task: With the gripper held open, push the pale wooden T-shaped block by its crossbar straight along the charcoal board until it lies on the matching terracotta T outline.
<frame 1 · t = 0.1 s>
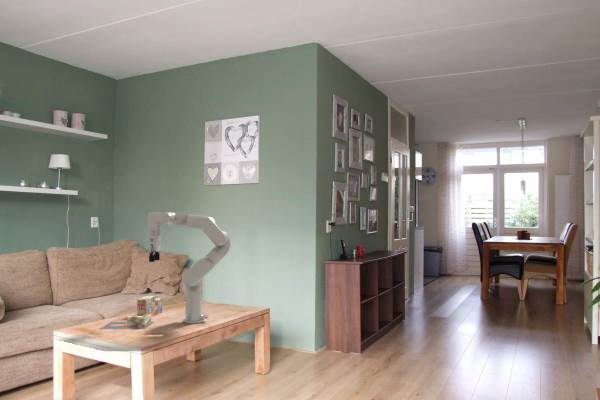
hand: (154, 261, 302), 37 cm above the table, tool pointing down, fingers open, 9 cm apart
T block: (138, 325, 288), point 1 cm above the table, touching board
board: (127, 326, 288), on the table
stack of blocks: (150, 315, 320), on the table
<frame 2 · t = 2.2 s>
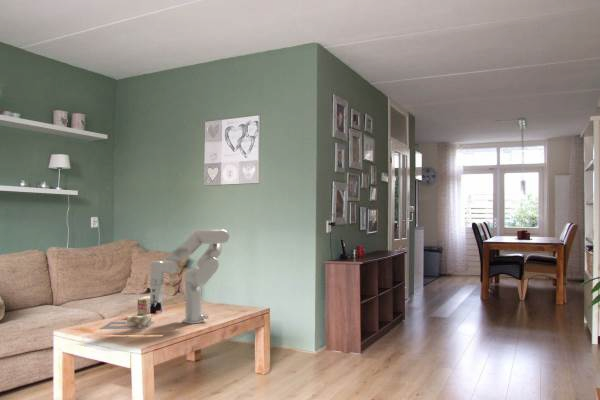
hand: (155, 312, 287), 9 cm above the table, tool pointing down, fingers open, 9 cm apart
nothing on the table moved.
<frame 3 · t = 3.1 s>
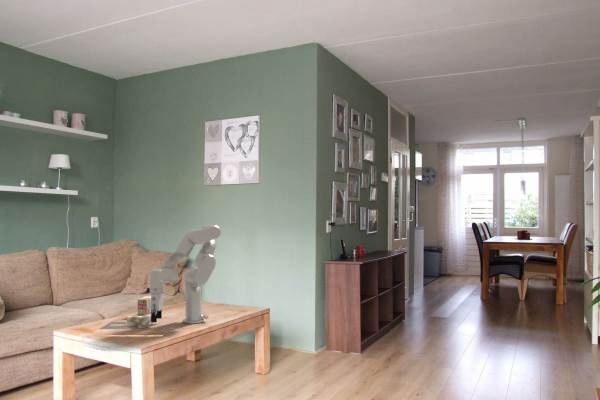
hand: (156, 320, 288), 4 cm above the table, tool pointing down, fingers open, 9 cm apart
nothing on the table moved.
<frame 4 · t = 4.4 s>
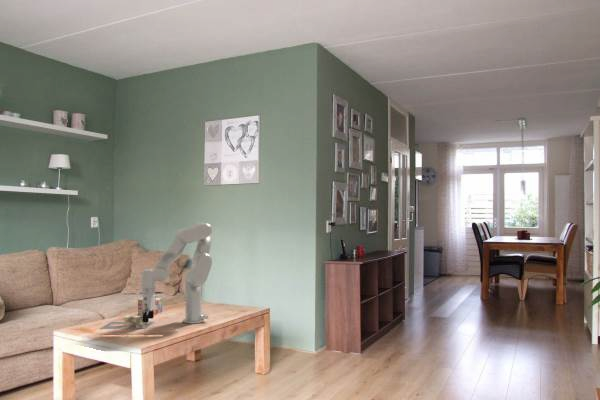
hand: (148, 320, 288), 4 cm above the table, tool pointing down
T block: (135, 325, 288), point 1 cm above the table, touching board, gripper
everything else where it was.
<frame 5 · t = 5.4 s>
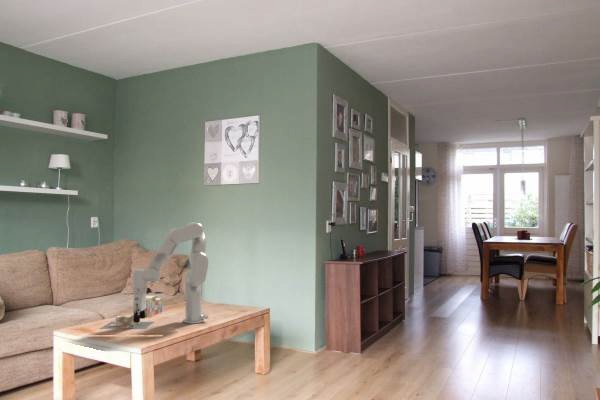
hand: (139, 320, 288), 4 cm above the table, tool pointing down
T block: (126, 325, 288), point 1 cm above the table, touching gripper
everything else where it was.
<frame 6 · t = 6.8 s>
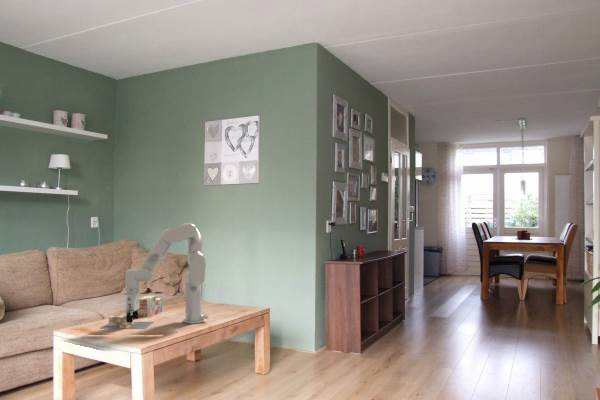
hand: (132, 320, 288), 4 cm above the table, tool pointing down
T block: (119, 325, 288), point 1 cm above the table, touching board, gripper
everything else where it was.
when the fingers open (4 cm above the table, at t = 7.3 s): T block stays where it is, resting on board.
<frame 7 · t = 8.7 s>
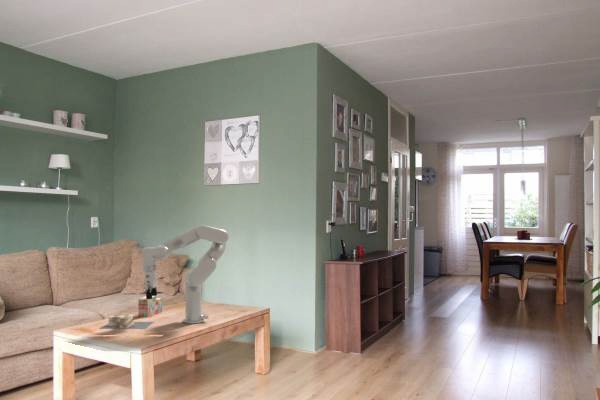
hand: (151, 297, 293), 16 cm above the table, tool pointing down, fingers open, 9 cm apart
T block: (119, 325, 288), point 1 cm above the table, touching board
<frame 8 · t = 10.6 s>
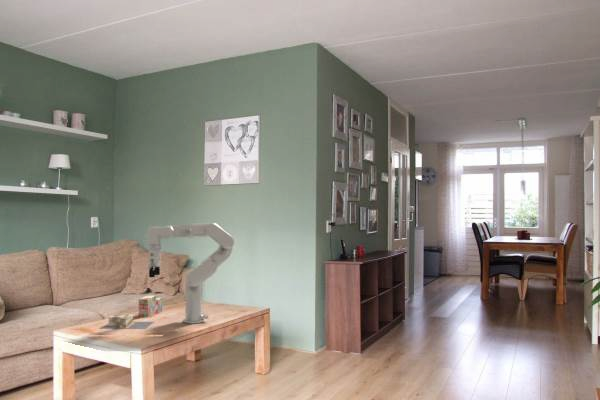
hand: (154, 276, 296), 28 cm above the table, tool pointing down, fingers open, 9 cm apart
at the end: T block 0.7 cm from the target spot on the board, point 1.0 cm above the board's base; T block tilted 0° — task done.
